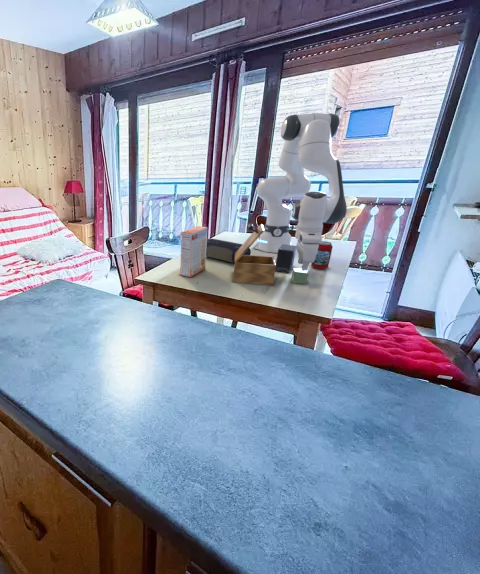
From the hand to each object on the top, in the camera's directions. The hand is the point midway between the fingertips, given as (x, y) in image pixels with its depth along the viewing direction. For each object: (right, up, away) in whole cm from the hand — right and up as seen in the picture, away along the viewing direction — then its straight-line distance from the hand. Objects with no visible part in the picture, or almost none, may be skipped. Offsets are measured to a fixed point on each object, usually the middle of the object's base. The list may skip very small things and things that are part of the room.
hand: (302, 266), depth 136 cm
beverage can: (+18, 0, +17) cm, 25 cm away
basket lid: (-20, +10, +4) cm, 23 cm away
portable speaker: (-19, +6, +35) cm, 40 cm away
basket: (-17, -5, +9) cm, 19 cm away
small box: (+3, 0, +18) cm, 18 cm away
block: (0, -6, +3) cm, 7 cm away
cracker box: (-40, -2, +20) cm, 45 cm away
